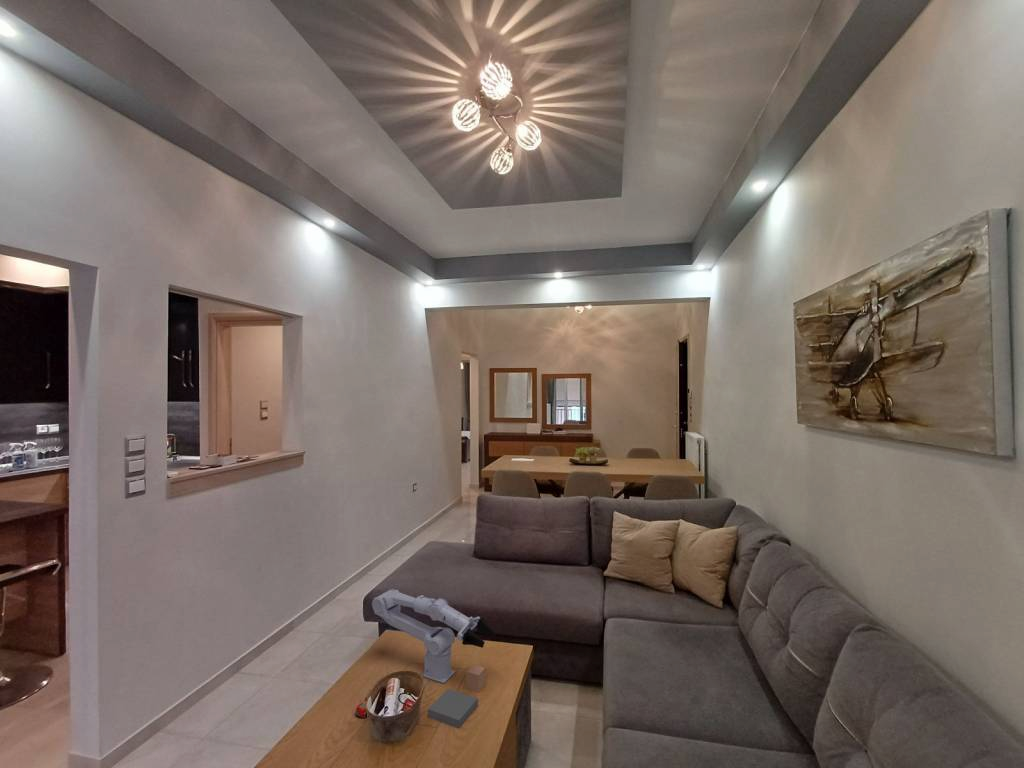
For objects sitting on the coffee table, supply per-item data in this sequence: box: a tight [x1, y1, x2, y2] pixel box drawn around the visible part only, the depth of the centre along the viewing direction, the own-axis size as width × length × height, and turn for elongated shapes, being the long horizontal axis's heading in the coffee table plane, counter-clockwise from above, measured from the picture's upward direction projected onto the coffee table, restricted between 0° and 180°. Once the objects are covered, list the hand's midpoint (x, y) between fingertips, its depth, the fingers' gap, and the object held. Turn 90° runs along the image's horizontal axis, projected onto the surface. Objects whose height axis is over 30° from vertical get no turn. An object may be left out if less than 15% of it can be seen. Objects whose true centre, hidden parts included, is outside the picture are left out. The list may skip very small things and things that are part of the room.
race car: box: [355, 697, 368, 719], centre depth 161 cm, size 13×5×4 cm, turn 141°
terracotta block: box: [465, 664, 486, 693], centre depth 173 cm, size 5×5×6 cm
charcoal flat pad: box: [427, 688, 479, 729], centre depth 159 cm, size 12×12×3 cm
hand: (488, 639), depth 171 cm, fingers open, 7 cm apart
